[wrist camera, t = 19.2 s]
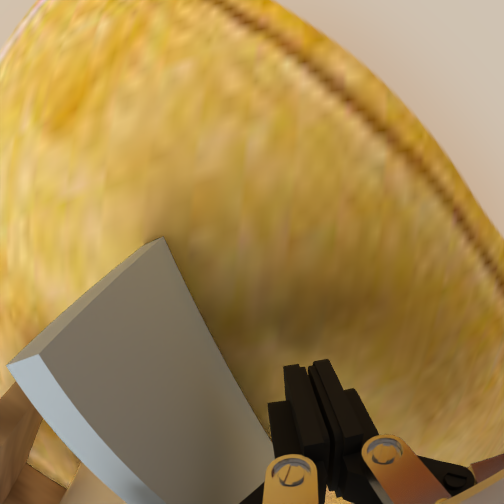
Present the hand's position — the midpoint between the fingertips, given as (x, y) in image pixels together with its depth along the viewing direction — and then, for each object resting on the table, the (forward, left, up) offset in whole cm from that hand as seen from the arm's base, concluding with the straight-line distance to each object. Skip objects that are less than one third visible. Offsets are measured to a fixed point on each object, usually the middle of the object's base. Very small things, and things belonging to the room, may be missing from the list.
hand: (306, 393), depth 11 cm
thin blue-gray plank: (+2, +3, -4) cm, 5 cm away
